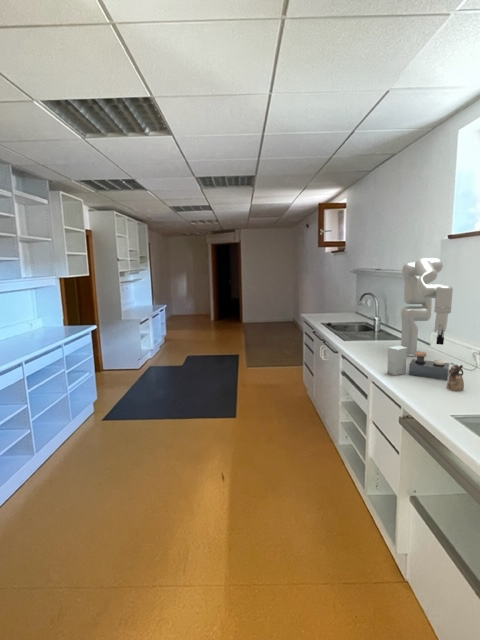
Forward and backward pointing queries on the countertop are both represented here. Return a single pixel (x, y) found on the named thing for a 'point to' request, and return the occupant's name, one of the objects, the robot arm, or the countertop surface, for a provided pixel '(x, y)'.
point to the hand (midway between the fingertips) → (439, 344)
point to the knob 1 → (420, 357)
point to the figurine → (455, 378)
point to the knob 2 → (439, 362)
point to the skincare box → (397, 360)
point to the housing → (429, 370)
